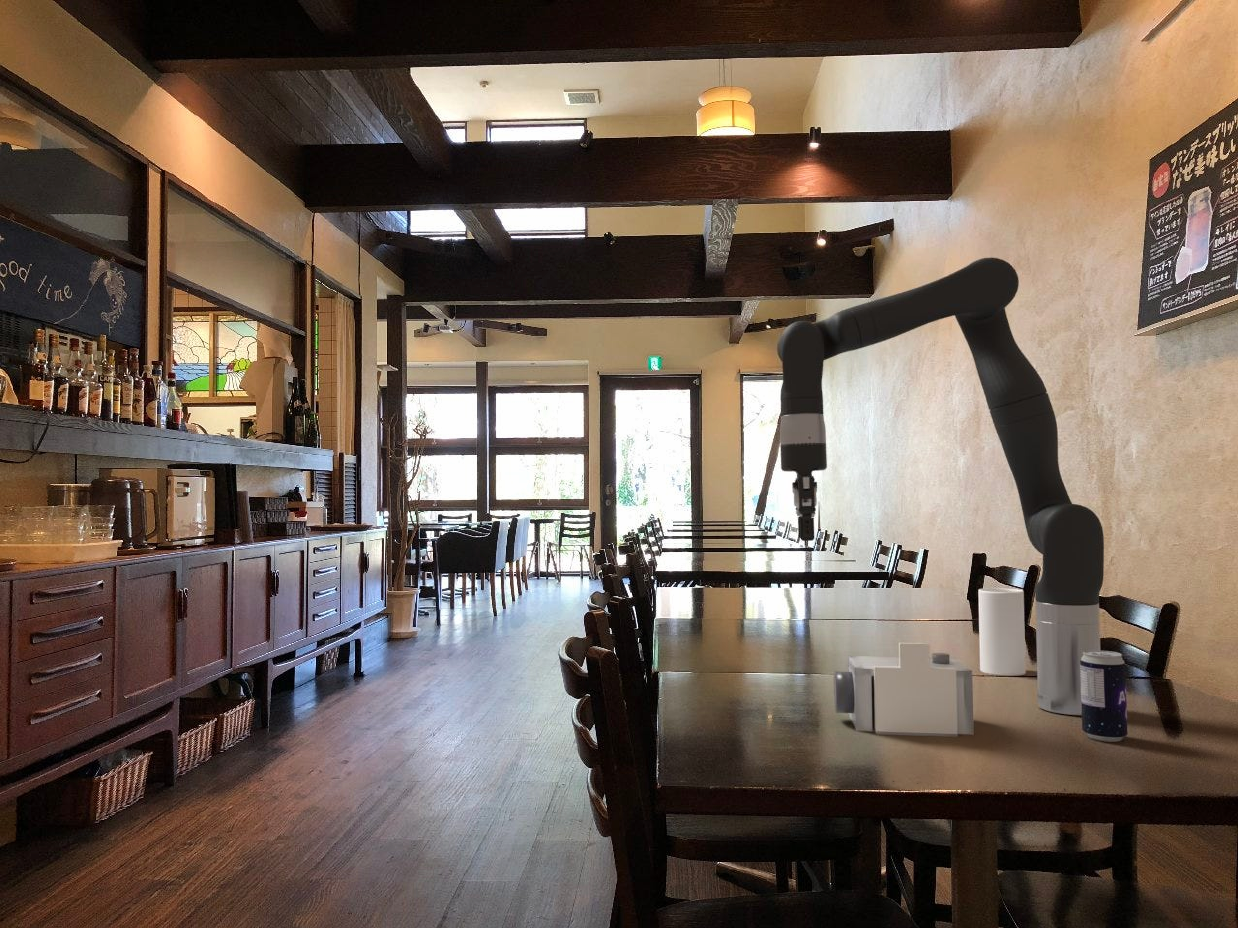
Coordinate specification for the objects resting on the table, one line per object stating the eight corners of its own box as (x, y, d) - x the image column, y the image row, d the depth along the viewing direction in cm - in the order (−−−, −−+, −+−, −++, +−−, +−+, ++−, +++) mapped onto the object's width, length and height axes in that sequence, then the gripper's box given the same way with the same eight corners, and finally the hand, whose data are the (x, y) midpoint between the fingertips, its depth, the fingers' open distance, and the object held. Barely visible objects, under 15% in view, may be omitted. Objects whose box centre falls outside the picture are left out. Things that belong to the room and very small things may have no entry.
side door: (955, 738, 123) (953, 643, 124) (957, 740, 122) (955, 644, 122) (874, 735, 125) (873, 641, 125) (876, 738, 123) (874, 643, 124)
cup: (1028, 670, 174) (1026, 589, 175) (1022, 677, 167) (1020, 593, 168) (984, 666, 178) (982, 587, 179) (976, 673, 171) (974, 590, 172)
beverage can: (1126, 745, 121) (1124, 658, 122) (1080, 739, 124) (1078, 654, 125) (1128, 735, 126) (1125, 651, 126) (1084, 730, 129) (1081, 648, 129)
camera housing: (957, 724, 133) (955, 650, 133) (973, 742, 123) (972, 662, 123) (833, 720, 136) (831, 647, 136) (839, 738, 126) (838, 659, 126)
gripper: (829, 439, 139) (832, 541, 138) (823, 444, 153) (826, 537, 153) (781, 440, 140) (784, 542, 140) (779, 445, 154) (782, 537, 154)
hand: (806, 539), depth 146 cm, fingers open, 8 cm apart
